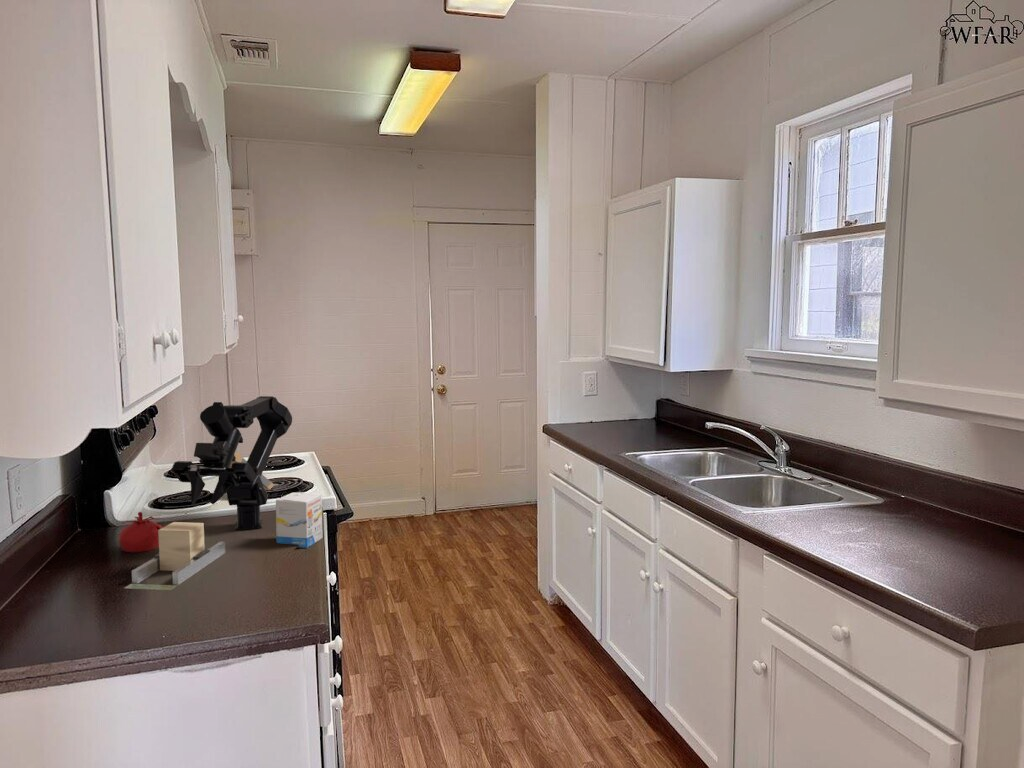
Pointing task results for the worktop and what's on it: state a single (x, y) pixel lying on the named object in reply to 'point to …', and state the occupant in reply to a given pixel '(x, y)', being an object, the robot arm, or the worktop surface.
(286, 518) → the ink box
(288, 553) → the worktop surface
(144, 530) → the pomegranate
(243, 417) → the robot arm
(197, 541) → the block
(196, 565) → the chute
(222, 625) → the worktop surface
